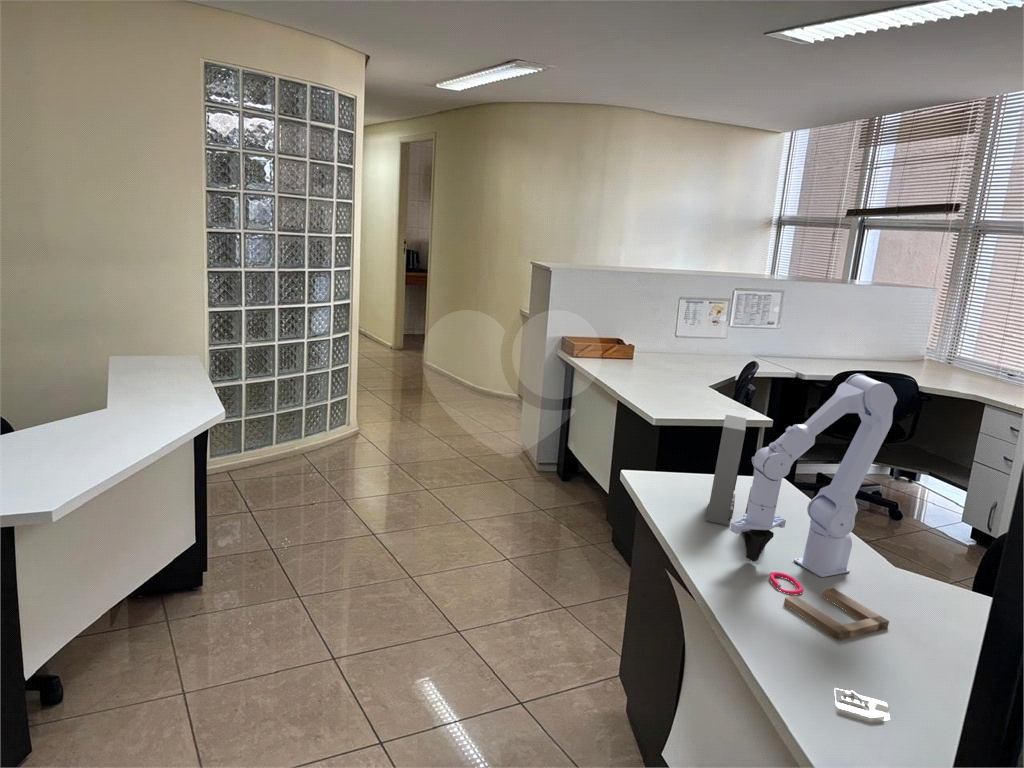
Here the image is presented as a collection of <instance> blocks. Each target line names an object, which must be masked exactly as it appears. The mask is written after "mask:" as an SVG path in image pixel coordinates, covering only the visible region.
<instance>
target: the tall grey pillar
mask: <svg viewBox="0 0 1024 768" xmlns="http://www.w3.org/2000/svg"><path fill="white" fill-rule="evenodd" d="M746 426H747V418H746V417H743V416H742V417H741V416H736V415H730V414H725V417H724V421H723V426H722V432H721V436H720V437H721V438H720V444H719V449H718V453H717V454H718V455H717V459H716V465H715V471H714V476H713V481H712V482H713V483H712V486H711V493H710V496H709V501H708V503H709V504H708V507H707V513H706V516H705V521H707V522H712V523H715V524H716V523H717V524H719V525H724V526H730V527H731V523H732V521H731V520H733V515H734V510H735V503H736V502H735V500H736V493H735V491H736V486H737V485H736V484H737V480H738V475H739V469H740V464H741V457H742V450H743V446H744V445H743V444H744V440H745V434H746V428H747V427H746Z"/></svg>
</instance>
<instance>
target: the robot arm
mask: <svg viewBox="0 0 1024 768" xmlns="http://www.w3.org/2000/svg"><path fill="white" fill-rule="evenodd" d="M897 401H898V398H897V395H896V393H895V392H894V389H893V387H891V385H890V384H888V383H885V382H883V381H882V382H881V381H879V380H876V379H874V378H871V377H869V376H867V375H865V374H863V373H855V374H852V375H849V377H847V378H846V380H845V381H844V382H841V383H840V384H839V385H838V386H837V388H836V390H835V392H834V393H833V395H832V396H831V397H830V398H829V399H828V400H826V401H825V403H823V405H821V406H820V407H819V409H817V410H816V411H815V412H814V413H813V414H812V415H811V416H810V417H809V418H808V419H807V420H806V421H805V422H804V423H801V424H800V423H799V424H798V423H797V424H796V423H795V424H793V425H792V426H791V425H789V426H788V427H786V428H785V432H784V433H783V434H781V435H780V436H779V438H777V439H775V441H773V442H770V443H769V444H768V446H765V447H762V448H760V449H758V450H757V451H756V452H755V454H754V456H752V457H751V462H752V463H751V464H752V465H753V468H754V472H753V480H752V484H751V487H752V489H751V488H750V489H751V494H750V499H749V504H748V509H747V514H745V513H743V516H742V518H739V519H738V520H736V521H731V522H730V529H729V531H731V533H734V534H736V535H740V533H741V534H742V537H743V541H744V546H745V556H746V559H748V560H749V561H751V562H753V563H754V562H757V561H758V560H759V558H760V556H761V554H762V553H763V550H764V548H766V546H767V545H768V543H769V542H770V541H771V540H772V539H773V538H774V534H775V533H774V532H773V531H771V530H772V529H774V528H778V527H779V528H786V524H787V523H786V522H787V519H786V518H784V517H782V516H775V515H776V510H777V505H778V501H779V495H780V490H781V486H782V482H783V481H782V480H783V479H784V478H785V477H787V476H788V475H789V474H790V471H791V468H792V466H793V464H794V462H795V461H796V460H798V459H799V458H800V457H801V456H802V455H803V454H805V453H806V452H807V451H808V450H809V449H810V448H812V447H813V446H814V445H815V443H816V436H817V435H819V434H820V433H822V432H823V431H824V430H825V429H827V428H828V427H830V425H833V424H834V423H835V422H836V421H838V420H839V419H840V418H841V417H843V416H844V415H846V414H858V417H859V418H860V420H861V422H860V424H859V426H858V428H857V430H856V432H855V434H854V436H853V439H852V440H851V442H850V444H849V447H848V448H847V450H846V452H845V454H844V456H843V458H842V460H841V462H840V464H839V466H838V468H837V470H836V472H835V474H834V476H833V478H832V480H831V482H830V484H829V485H826V486H823V487H821V488H820V489H819V490H818V493H817V495H816V496H814V497H813V498H812V499H811V500H810V501H809V502H808V505H807V510H806V511H807V515H808V516H809V518H810V522H809V529H808V534H807V538H806V544H805V549H804V552H803V557H797V558H793V562H795V563H796V564H798V565H800V566H802V567H803V568H804V569H806V570H808V571H810V572H812V573H813V574H815V575H817V576H818V577H820V578H824V577H829V576H835V575H840V574H846V573H850V571H851V569H850V568H848V565H849V561H850V555H851V552H852V548H853V547H852V546H853V540H852V537H851V535H850V534H851V533H852V531H853V529H855V528H854V527H855V523H856V521H855V520H856V516H857V513H858V510H859V509H858V508H859V507H858V505H857V501H856V495H857V494H858V492H859V489H860V487H861V486H862V483H863V482H864V479H865V478H866V477H867V474H868V472H869V470H870V468H871V466H872V464H873V462H874V460H875V458H876V456H877V455H878V452H879V450H880V449H881V446H882V444H883V443H884V441H885V439H886V437H887V436H888V432H889V431H890V429H891V427H892V424H893V419H894V417H893V416H894V415H893V413H894V412H893V411H894V407H895V406H896V404H897Z"/></svg>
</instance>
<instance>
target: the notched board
mask: <svg viewBox="0 0 1024 768" xmlns="http://www.w3.org/2000/svg"><path fill="white" fill-rule="evenodd" d="M822 596H823V597H825V598H826V599H828V600H829V601H828V600H827V601H828V602H830V601H831V602H833V603H835V604H836V605H838V606H839V607H841V608H843V609H844V610H846V611H847V612H846V611H845V612H846V613H848V614H849V613H850V615H851V616H853V617H854V616H855V617H854V618H855V619H857V620H856V621H854V622H853V621H852V622H849V623H845V624H841V623H839V622H838V621H837V620H836V619H833V618H832V617H830V616H829V615H827V614H826V613H824V612H823V611H821V610H819V609H818V608H816V607H815V606H813V605H811V604H810V603H808V602H806V600H803V599H802V598H801V597H799V596H798V595H790V596H788V597H784V601H783V605H784V604H785V605H786V606H785V605H784V606H785V607H787V606H788V607H789V608H788V607H787V608H788V609H790V608H791V609H792V610H791V609H790V610H791V611H793V610H794V611H795V612H794V611H793V612H794V613H796V612H797V613H798V614H797V613H796V614H797V615H799V614H800V615H801V617H802V616H803V617H804V618H803V617H802V618H803V619H805V618H806V619H807V620H806V619H805V620H806V621H808V622H809V621H810V622H809V623H811V624H812V623H813V624H812V625H814V626H815V625H816V626H815V627H817V628H818V629H820V630H821V631H823V632H824V633H826V634H828V635H830V637H832V638H834V639H835V640H836V641H842V640H845V639H846V640H847V639H850V638H851V639H852V638H855V637H858V636H862V635H866V634H871V633H873V632H877V631H881V630H885V629H888V627H889V624H890V620H888V619H886V617H883V616H881V615H880V614H878V613H876V612H875V611H873V610H872V609H870V608H868V607H866V606H864V605H863V604H862V603H860V602H858V601H856V600H854V599H853V598H851V597H849V596H847V595H846V594H844V593H842V592H840V591H839V590H837V588H834V587H832V588H827V589H826V588H825V589H823V590H822V594H821V597H822ZM823 597H822V598H823ZM825 598H824V599H825ZM826 599H825V600H826ZM831 602H830V603H831ZM833 603H832V604H833ZM835 604H834V605H835ZM836 605H835V606H836ZM838 606H837V607H838ZM839 607H838V608H839ZM841 608H840V609H841ZM843 609H842V610H843ZM844 610H843V611H844ZM800 615H799V616H800Z"/></svg>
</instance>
